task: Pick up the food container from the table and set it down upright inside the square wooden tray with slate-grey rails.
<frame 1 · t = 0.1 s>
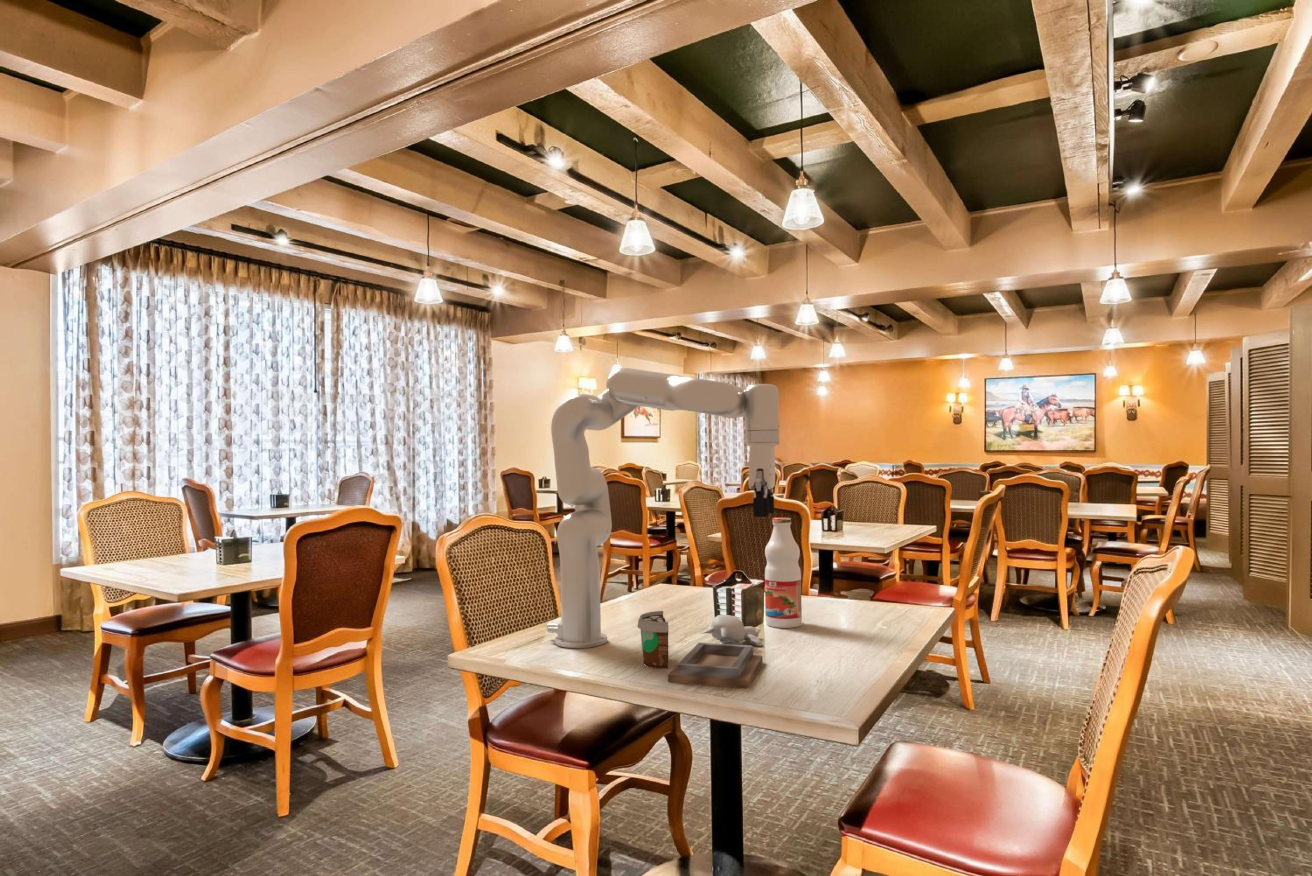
hand: (764, 514, 164), 31 cm above the table, tool pointing down, fingers open, 9 cm apart
fruit juice: (783, 625, 192), on the table
toy creature: (733, 647, 170), on the table
food container: (652, 664, 157), on the table
square wooden tray: (717, 671, 150), on the table
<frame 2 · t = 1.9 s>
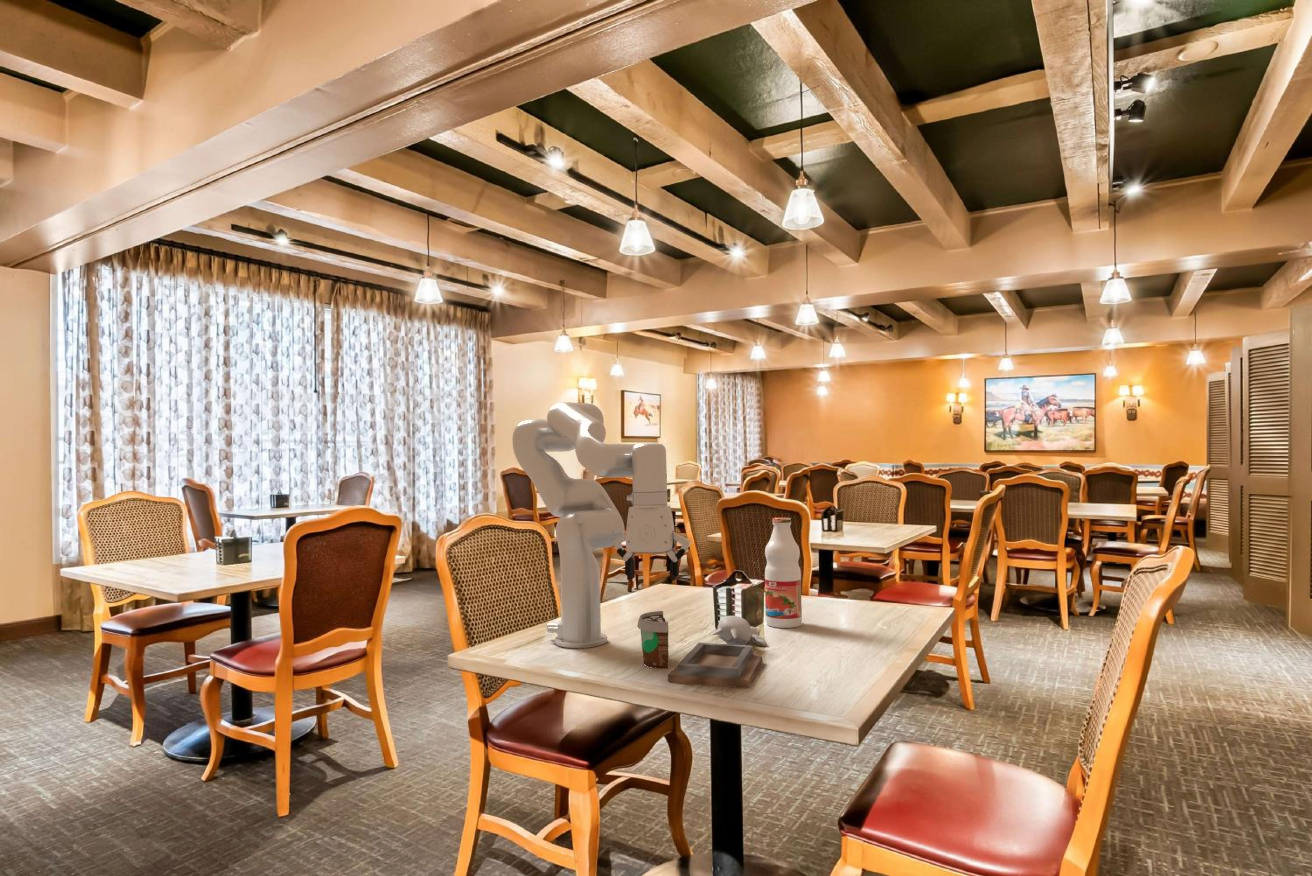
hand: (652, 579, 158), 18 cm above the table, tool pointing down, fingers open, 9 cm apart
toy creature: (738, 648, 170), on the table
everything else where it was.
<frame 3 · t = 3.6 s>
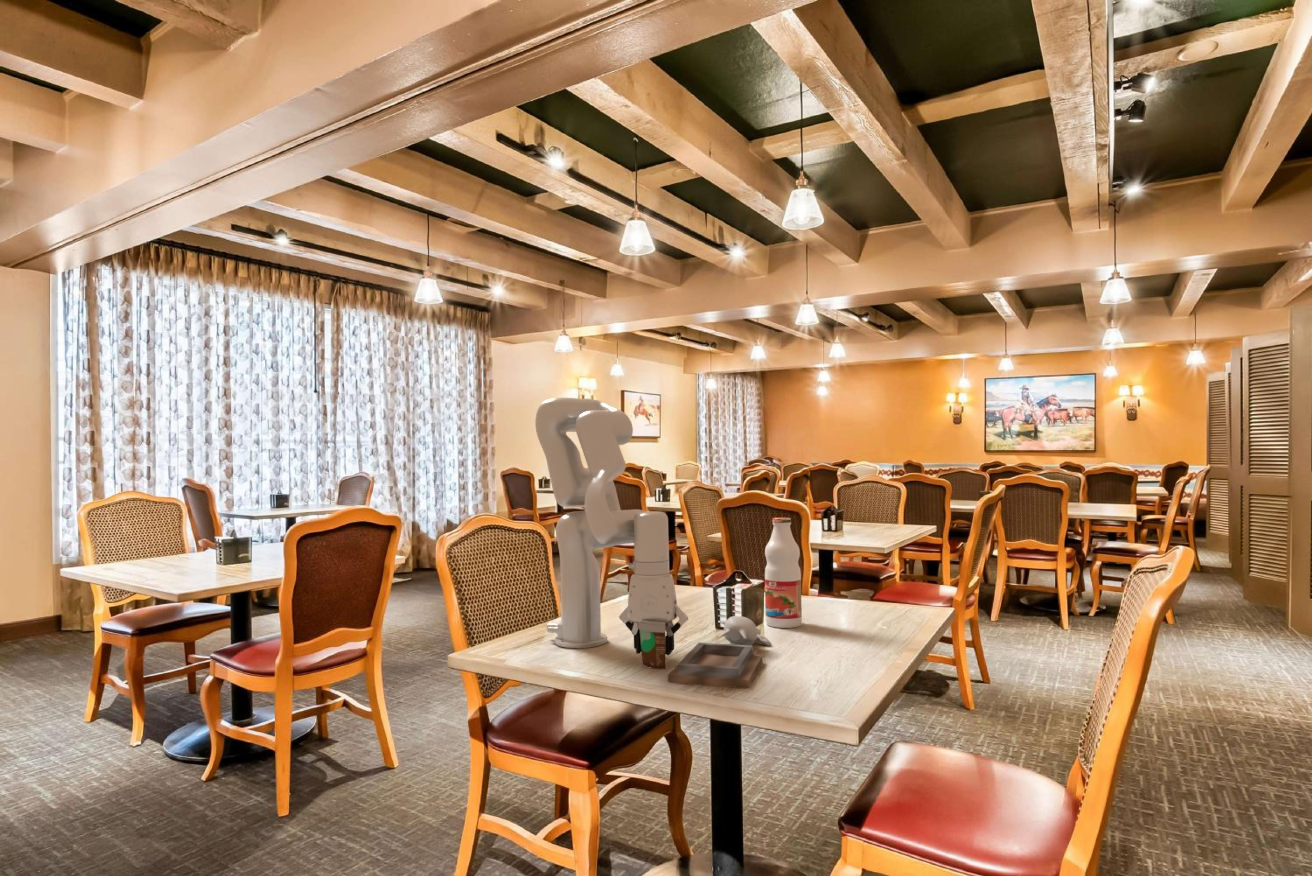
hand: (654, 652, 157), 2 cm above the table, tool pointing down, fingers closed on food container, 5 cm apart
toy creature: (744, 648, 169), on the table
food container: (650, 664, 157), on the table, touching gripper
everything else where it was.
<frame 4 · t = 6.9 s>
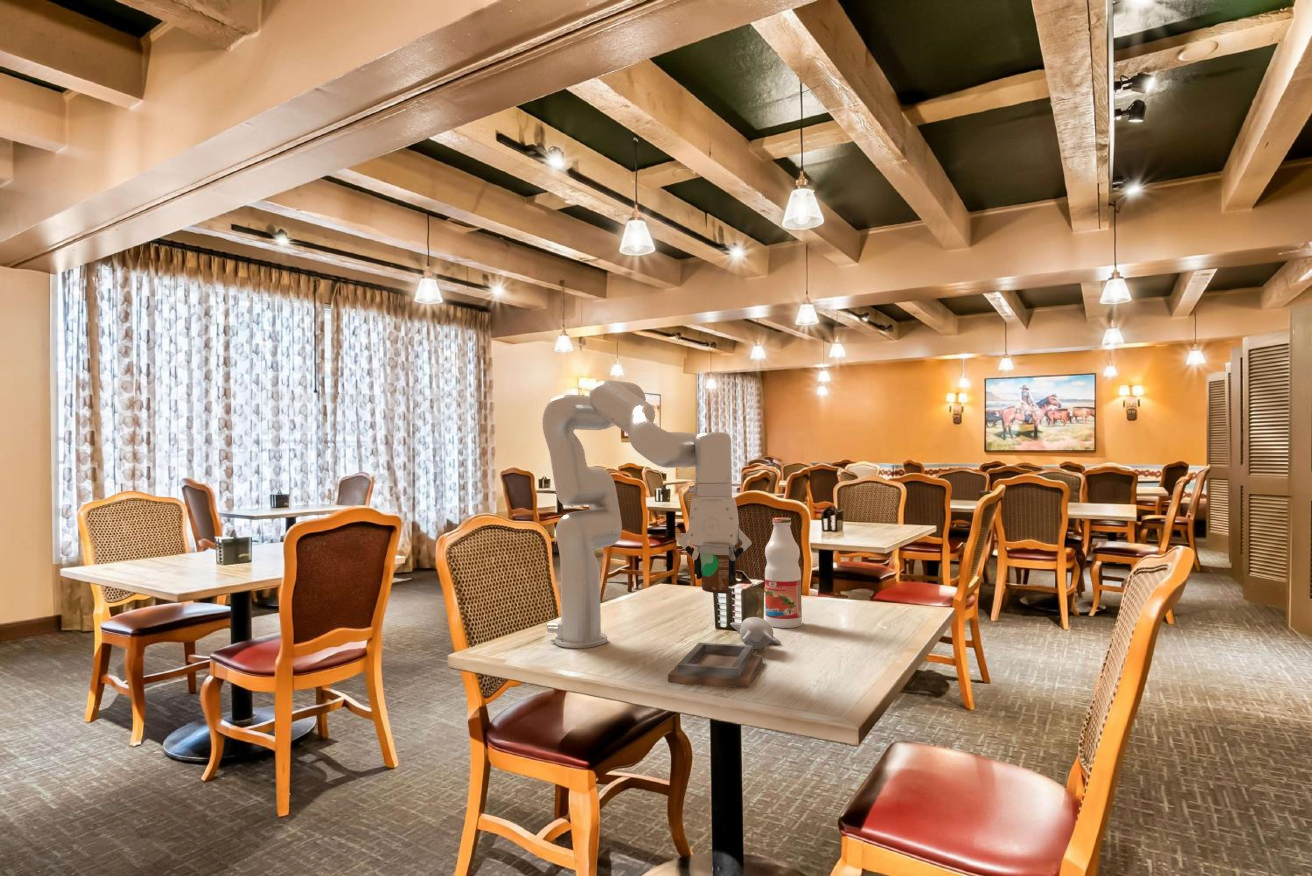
hand: (715, 578, 151), 19 cm above the table, tool pointing down, fingers closed on food container, 5 cm apart
toy creature: (757, 649, 168), on the table
food container: (711, 590, 151), point 17 cm above the table, touching gripper
everything else where it was.
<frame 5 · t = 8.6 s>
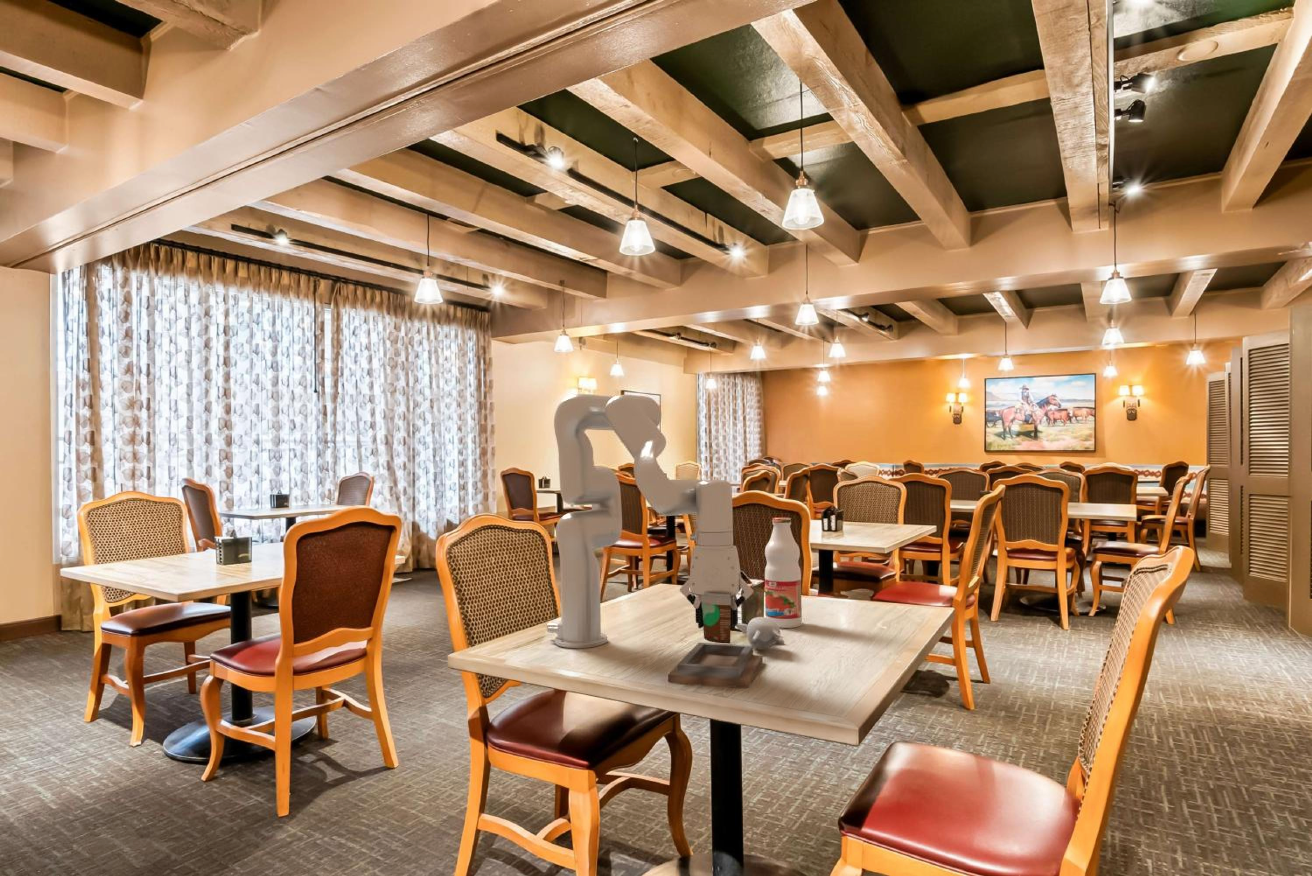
hand: (716, 626, 150), 9 cm above the table, tool pointing down, fingers closed on food container, 5 cm apart
toy creature: (763, 649, 168), on the table
food container: (713, 638, 151), point 7 cm above the table, touching gripper
everything else where it was.
when the fingers open (5 cm above the table, at t = 10.0 s): food container moves 1 cm, resting on square wooden tray.
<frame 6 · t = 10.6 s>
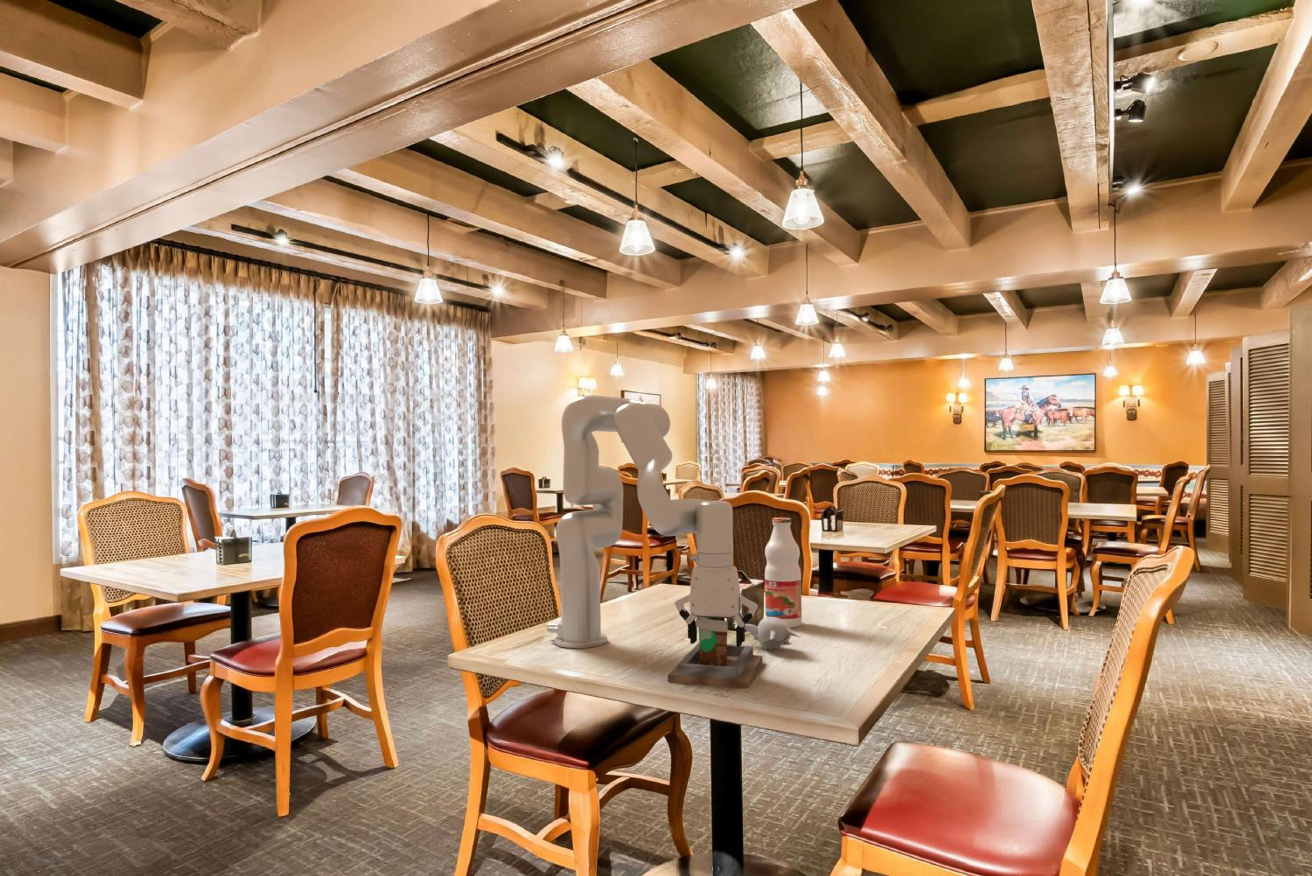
hand: (716, 643, 150), 6 cm above the table, tool pointing down, fingers open, 9 cm apart
toy creature: (772, 649, 169), on the table
food container: (709, 664, 151), point 1 cm above the table, touching square wooden tray
everything else where it was.
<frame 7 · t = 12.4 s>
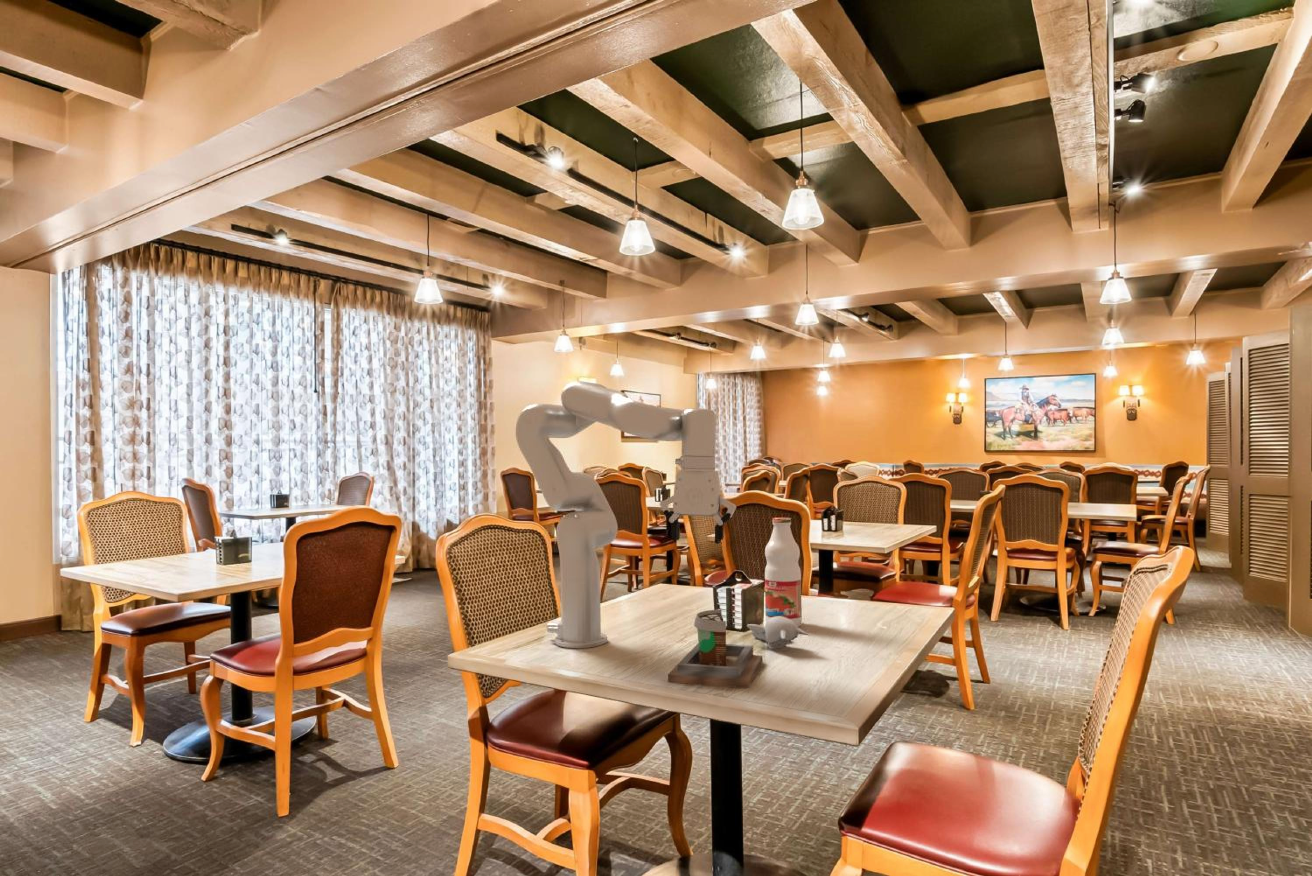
hand: (696, 541, 161), 26 cm above the table, tool pointing down, fingers open, 9 cm apart
toy creature: (777, 648, 169), on the table
everything else where it was.
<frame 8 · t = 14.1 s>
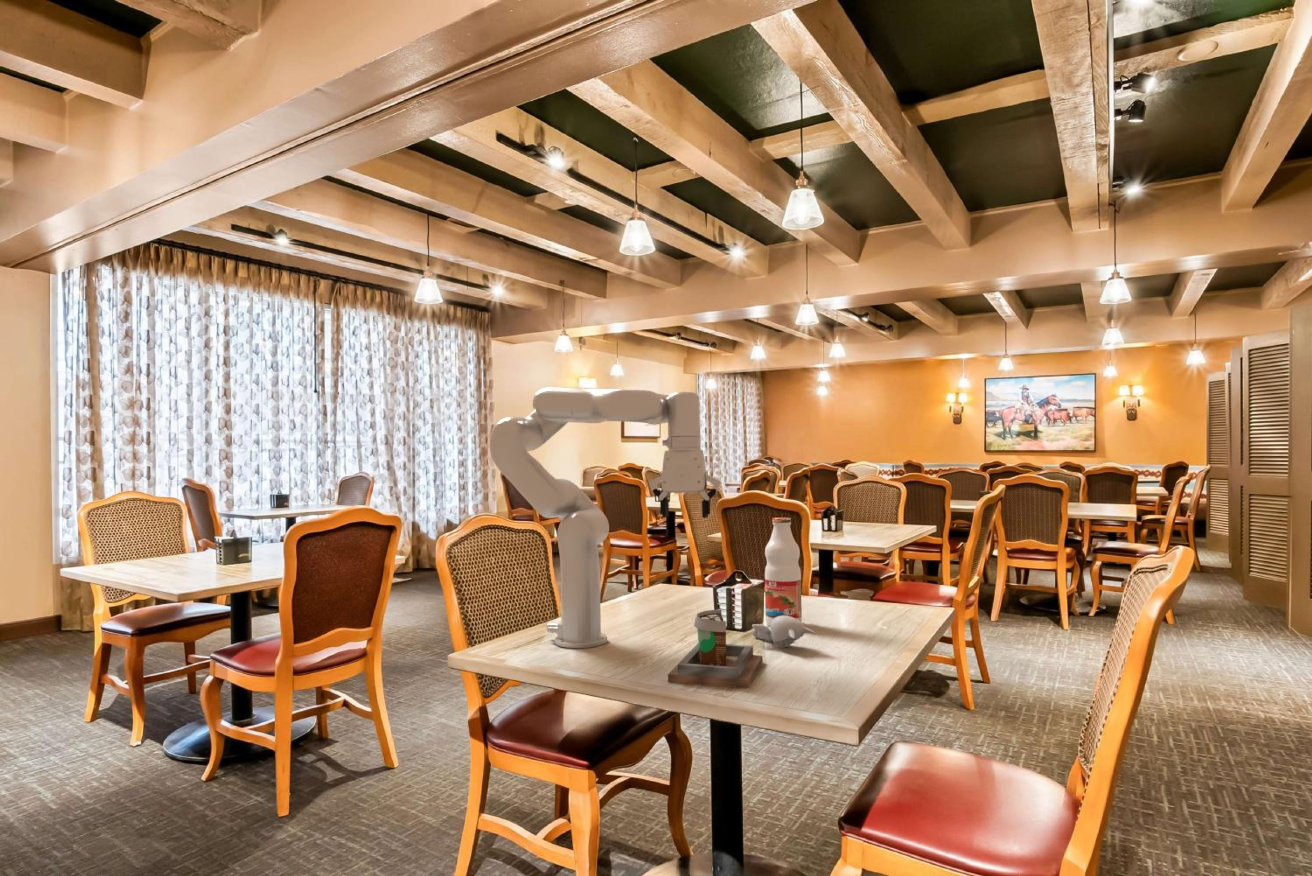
hand: (685, 517, 171), 30 cm above the table, tool pointing down, fingers open, 9 cm apart
toy creature: (782, 647, 170), on the table
everything else where it was.
at the end: food container 1.6 cm off-centre on the square wooden tray, point 1.3 cm above the square wooden tray's base; food container tilted 0°; the gripper is holding nothing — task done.
